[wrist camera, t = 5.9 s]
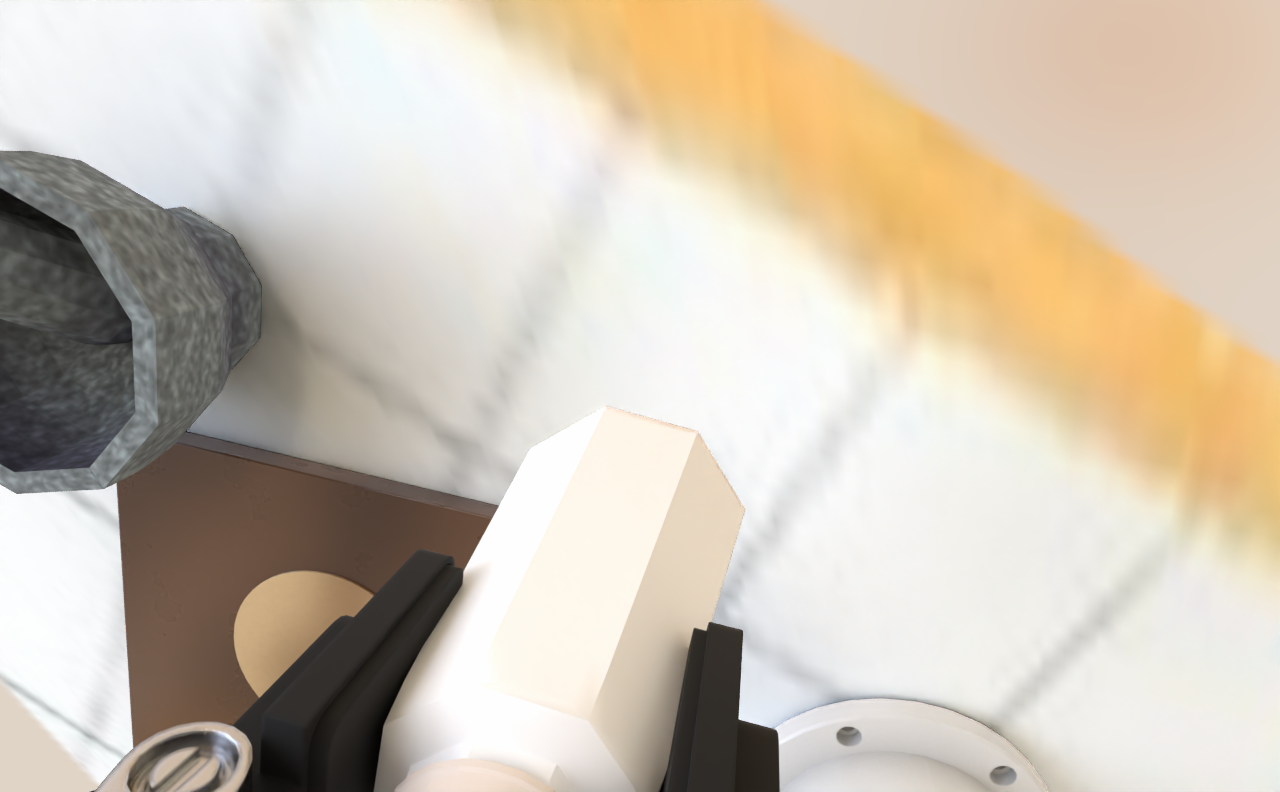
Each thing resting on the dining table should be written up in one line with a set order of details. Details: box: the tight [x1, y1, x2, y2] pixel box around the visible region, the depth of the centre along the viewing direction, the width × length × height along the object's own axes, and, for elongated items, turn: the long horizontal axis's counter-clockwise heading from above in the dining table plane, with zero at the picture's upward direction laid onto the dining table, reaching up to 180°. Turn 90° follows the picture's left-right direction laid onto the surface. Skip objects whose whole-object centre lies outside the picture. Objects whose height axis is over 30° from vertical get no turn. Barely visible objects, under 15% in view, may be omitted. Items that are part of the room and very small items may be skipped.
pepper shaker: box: [374, 406, 745, 792], centre depth 12 cm, size 5×5×11 cm
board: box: [117, 432, 499, 748], centre depth 30 cm, size 18×16×1 cm
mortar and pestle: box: [0, 151, 261, 494], centre depth 21 cm, size 11×9×12 cm
